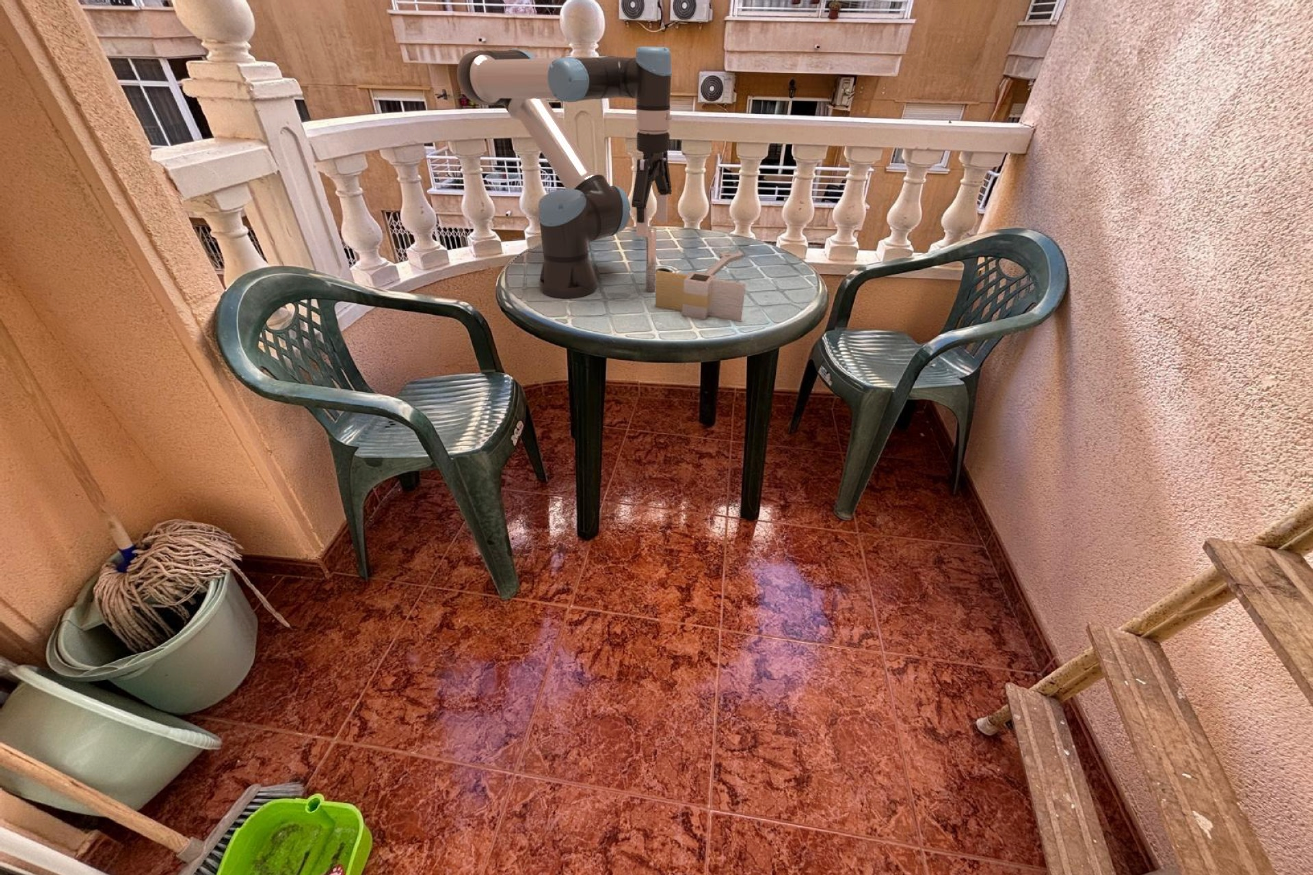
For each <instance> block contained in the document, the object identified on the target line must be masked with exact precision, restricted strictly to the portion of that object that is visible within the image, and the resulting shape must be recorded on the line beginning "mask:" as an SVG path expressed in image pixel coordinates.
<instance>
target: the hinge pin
mask: <svg viewBox="0 0 1313 875" xmlns="http://www.w3.org/2000/svg"><path fill="white" fill-rule="evenodd" d="M645 239H646V243H645V244H646V248H645V256H646V257H645V259H646V260H645V263H646V264H645V269H646V270H645V292H647V293H654V292H655V293H656V271H657V266H656V264H657V228H655V227H648V236H647V237H645Z"/></svg>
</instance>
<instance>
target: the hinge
mask: <svg viewBox="0 0 1313 875" xmlns="http://www.w3.org/2000/svg"><path fill="white" fill-rule="evenodd" d="M716 277H717V275H716V274H715V275H710V274H703V272H696V271H691V272H690V273H689V274H683V273H676V272H670V271H664V270H657V269H656V280H655V308H661V309H666V310H672V311H678V312H681V314H682V315H681V316H682V317H687V318H692V319H698V320H703V321H706V320H707V318H708V317H713V318H718V319H723V320H730V321H734V322H735V321H736V322H741V321H742V318H743V310H744V301H745V296H746V294H745V292H746V286H747V284H746V283H742V282H736V281H729V280H722V279H717V278H716Z"/></svg>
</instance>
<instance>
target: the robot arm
mask: <svg viewBox="0 0 1313 875" xmlns="http://www.w3.org/2000/svg"><path fill="white" fill-rule="evenodd" d="M456 70H457V71H456V78H457V82H458V86H459V88H460V91H461V92H462V93H463V94H464V95H465V97H467V99H469V100H470V101H471V102H473V103H475V104H477V105H479V106H480V105H481V106H499V105H501V106H504V108H505V109H506V111H507V112H508V114H509V116H510V117H511V118H513V119H514V120H519V121H520V122H521V124H522V125H523V126H524V128H525V129H526V131H527V132H528V134H529V135H530V137H531V138H532V140H533V141H534V143H535V144H536V146H537V147H538V149H539V150H540V152H541V154H542V155H543V157H544V158H545V160H546V161H547V162H548V164H549V165H550V167H551V168H552V170H553V172H554V173H555V174H556V176H557V178H558V179H559V180H560V182H561V184H562V185H563V186H564V188H565V189H563V190H561V189H560V190H559V189H558V190H554V191H551V192H548V193H547V194H545V195H542V197H540V199H539V201H538V216H537V217H538V222H539V226H540V227H539V228H540V236H541V237H540V238H541V246H542V256H543V262H542V266H541V272H540V277H539V289H540V290H539V291H541V293H542V294H544V295H547V296H549V297H553V298H559V299H561V298H562V299H571V298H572V299H574V298H579V297H584V296H588V295H590V294H592V293H594V292H595V291H596V290H597V287H598V282H597V281H598V280H597V276H596V274H595V271H594V269H593V266H592V265H593V264H592V262H591V260H590V256H589V243H591V242H594V241H597V240H600V239H604V238H607V237H612V236H614V235H615V236H616V235H617V234H618V233H620V232H622V231H624V230H625V229H626V227H627V226H628V225H629V222H630V218H631V207H632V208H635V232H636V235H635V236H636V237H637V236H638V237H644V238H646V237H647V236H648V228H649V207H647V205H648V201H649V196H650V194H651V188H652V185H653V183H654V182H655V187H656V189H657V192H658V193H657V194H656V215H655V216H656V221H655V222H660V223H668V198H669V196H668V195H672V193H673V192H672V182H671V181H672V180H671V175H670V174H671V173H670V167H669V161H668V160H669V159H668V158H669V157H668V156H669V153H668V151H670V141H671V140H670V136H671V135H670V133H669V130H670V126H671V124H670V123H671V120H673V116H672V114H671V91H672V90H671V89H672V88H671V87H672V75H673V70H672V52H671V50H670V49H669V48H668V47H666V46H639V47H637V48H636V51H635V57H627V56H616V55H605V56H595V57H592V56H591V57H575V56H574V57H572V56H563V57H561V58H560V57H555V58H554V57H552V58H551V57H550V58H548V57H547V58H536V56H534V55H533V54H532V53H530V51H529V52H528V51H525V50H519V49H516V48H513V49H512V48H511V49H508V50H495V49H494V50H493V49H492V50H485V49H484V50H483V49H482V50H480V49H479V50H473V51H470V52H467V53H466V54H464V55H463V56H462V58H461V59H460V60H459V62H458V66H457V69H456ZM615 98H616V99H617V98H620V99H621V98H623V99H635V105H636V110H635V112H636V114H635V115H636V116H635V118H636V120H635V124H636V125H635V128H636V130H637V133H636V150H637V151H638V152H640V153H642V154H643V155H642V159H640V158H637V160H636V174H635V180H634V186H633V192H632V193H633V194H632V198H631V199H632V200H631V205H630V199H629V198H628V195H627V193H626V192H625V191H624V189H622V188H621V187H620V186H617V185H611V184H609V182H608V181H607V180H606V177H605V176H604V175H603V174H601V173H597V172H595V171H594V170H593V168H592V167H591V165H590V164H589V163H588V161H587V160H586V158H585V157H584V155H583V154H582V152H581V150H580V149H579V148H578V145H577V144H576V143H575V141H574V140H573V139H572V137H571V135H570V134H569V132H568V131H567V129H566V128H565V127H564V125H563V123H562V122H561V120H560V118H559V117H558V116H557V114H556V113H555V111H554V110H553V108H552V106H551V105H550V104H549V102H548V101H547V100H550V101H551V100H555V101H559V102H563V103H564V102H566V103H575V102H581V101H591V100H602V99H603V100H605V99H615Z"/></svg>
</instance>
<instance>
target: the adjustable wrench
mask: <svg viewBox="0 0 1313 875" xmlns="http://www.w3.org/2000/svg"><path fill="white" fill-rule="evenodd" d="M743 254H744V253H743V252H742V251H741V250H737V253H730V251H729V249H727V250H724V251H721V252H720V253H719V255H718V256H719V257H718V258H719V260H717V261H716V262H715V263H714V264H712V265H711V266H710V267H708V268H707V269H705V271H703V272H702V273H703V274H710V275H716V274H717V273H719V271H721V270H722V269H723V268H725V266H727V265H728V264H729V263H732V262H735V261H740V260H741V258H742V259H743Z"/></svg>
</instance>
